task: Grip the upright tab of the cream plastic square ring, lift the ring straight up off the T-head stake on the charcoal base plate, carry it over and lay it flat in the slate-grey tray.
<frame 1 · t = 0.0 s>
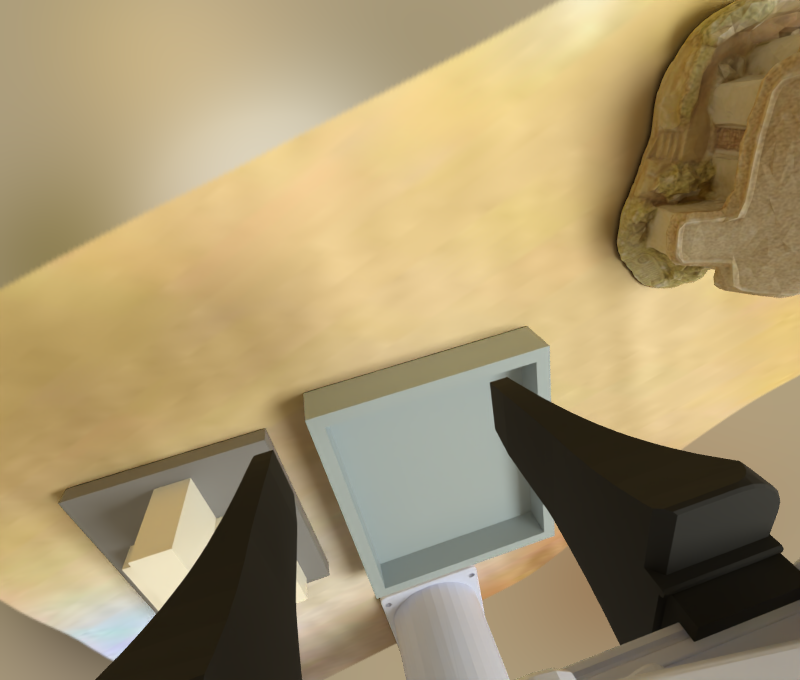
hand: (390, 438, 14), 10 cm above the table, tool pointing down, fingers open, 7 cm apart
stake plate: (215, 530, 27), on the table
tray: (439, 460, 29), on the table
ceramic model: (705, 158, 24), on the table
tabbed ring: (226, 563, 27), point 1 cm above the table, touching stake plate
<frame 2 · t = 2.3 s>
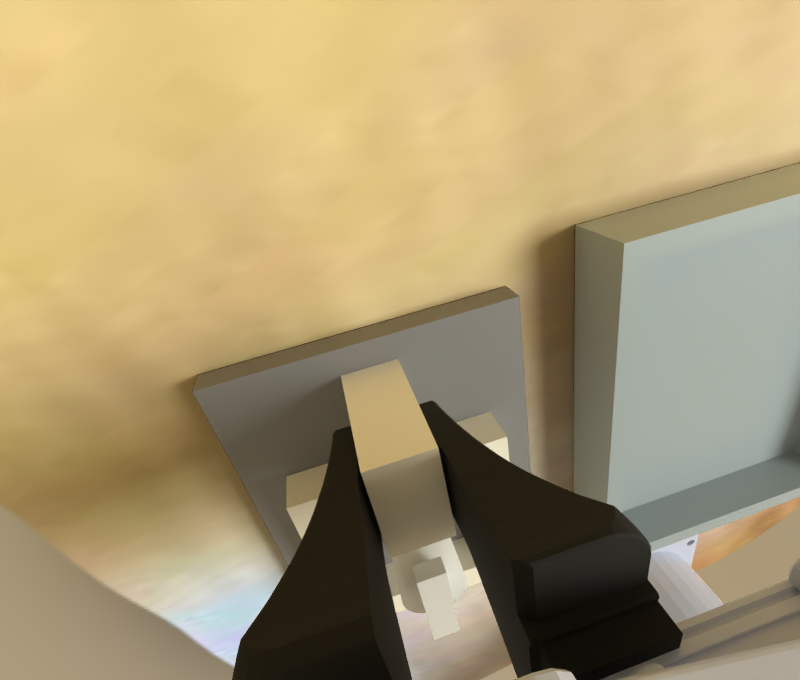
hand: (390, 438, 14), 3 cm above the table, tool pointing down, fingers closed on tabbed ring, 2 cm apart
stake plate: (395, 462, 18), on the table
tray: (709, 364, 20), on the table
tabbed ring: (410, 512, 18), point 1 cm above the table, touching gripper, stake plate
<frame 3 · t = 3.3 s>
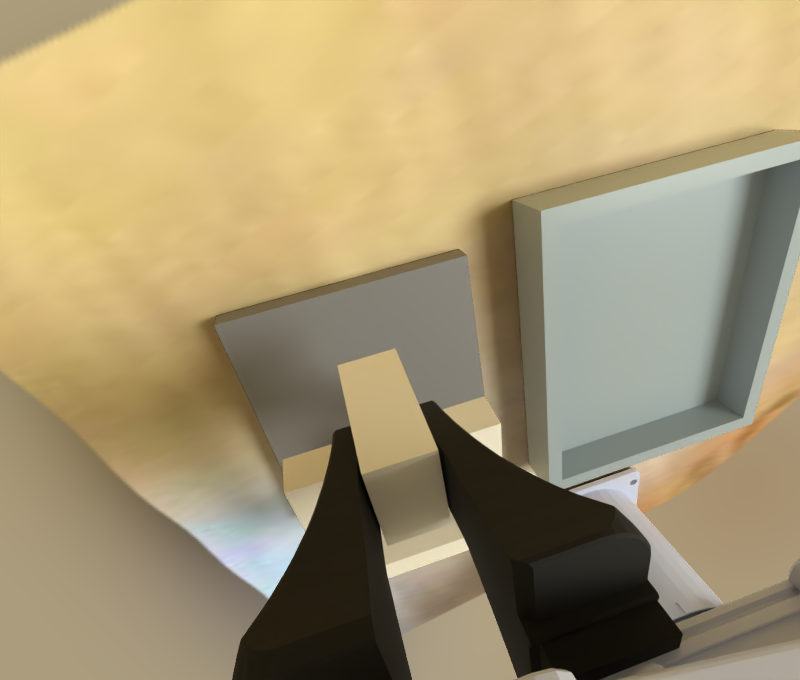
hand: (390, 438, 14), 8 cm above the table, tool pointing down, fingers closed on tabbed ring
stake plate: (374, 396, 22), on the table
tray: (635, 320, 24), on the table
tabbed ring: (403, 488, 19), point 5 cm above the table, tilted 7°, touching gripper
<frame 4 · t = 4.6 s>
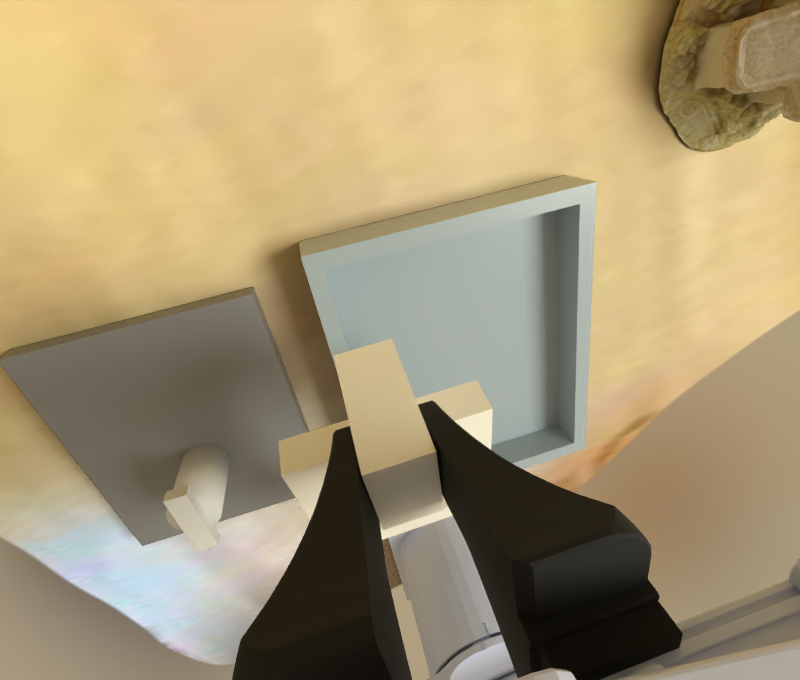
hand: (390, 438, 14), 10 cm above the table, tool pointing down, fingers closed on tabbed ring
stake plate: (194, 422, 23), on the table
tray: (457, 350, 25), on the table
tabbed ring: (394, 461, 19), point 6 cm above the table, tilted 15°, touching gripper
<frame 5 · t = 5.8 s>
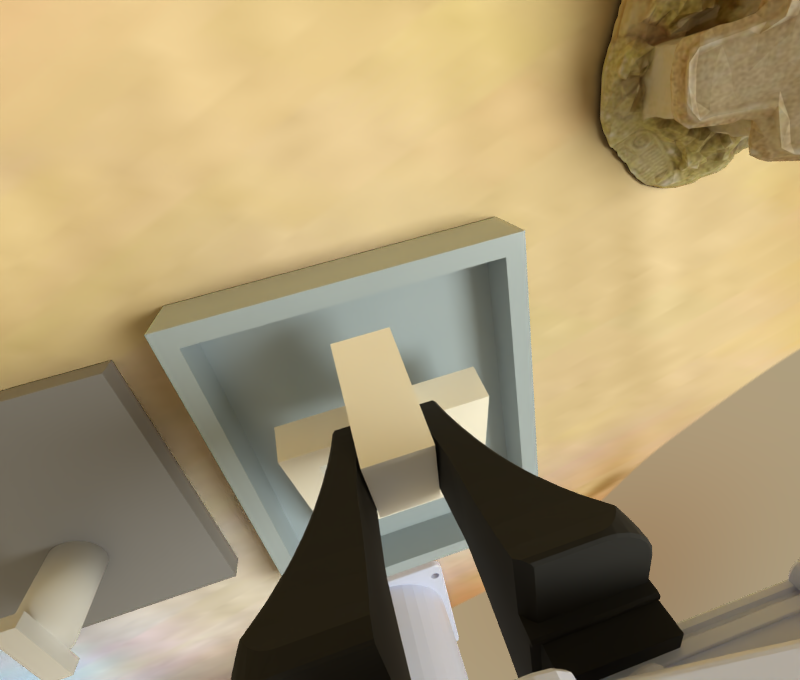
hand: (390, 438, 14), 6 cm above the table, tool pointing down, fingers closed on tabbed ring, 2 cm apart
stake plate: (62, 513, 19), on the table
tray: (381, 418, 21), on the table
tabbed ring: (389, 445, 20), point 2 cm above the table, tilted 19°, touching gripper, tray
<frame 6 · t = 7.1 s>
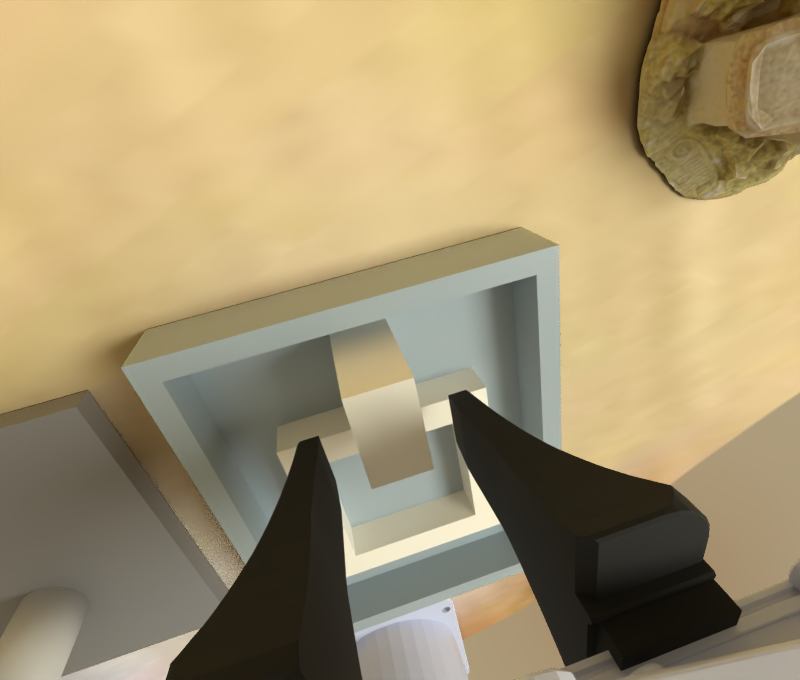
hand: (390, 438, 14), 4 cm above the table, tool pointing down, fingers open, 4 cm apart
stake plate: (37, 555, 17), on the table
tray: (390, 447, 19), on the table
tabbed ring: (396, 466, 19), point 1 cm above the table, touching tray
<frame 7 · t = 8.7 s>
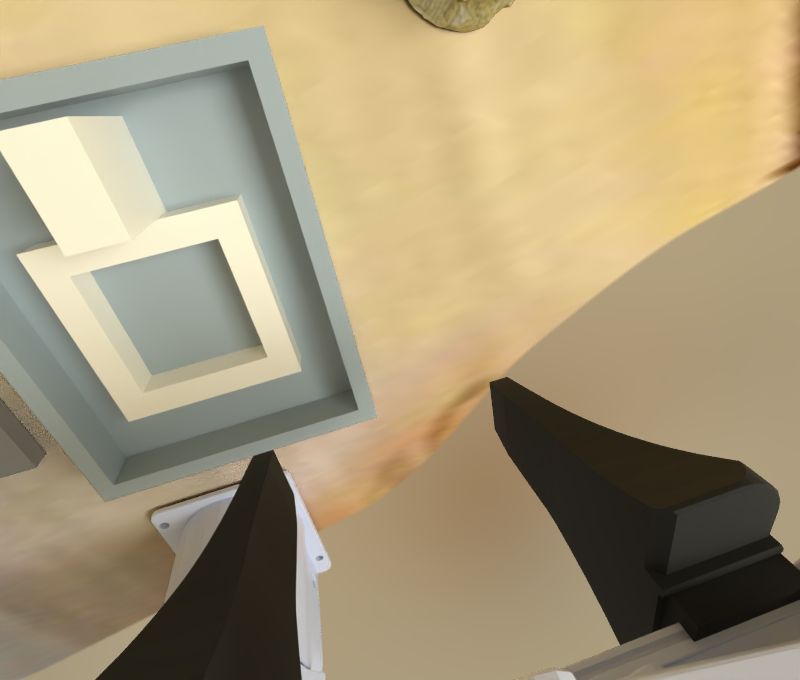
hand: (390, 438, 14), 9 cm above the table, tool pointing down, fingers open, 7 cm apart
tray: (181, 289, 19), on the table
tabbed ring: (185, 306, 19), point 1 cm above the table, touching tray
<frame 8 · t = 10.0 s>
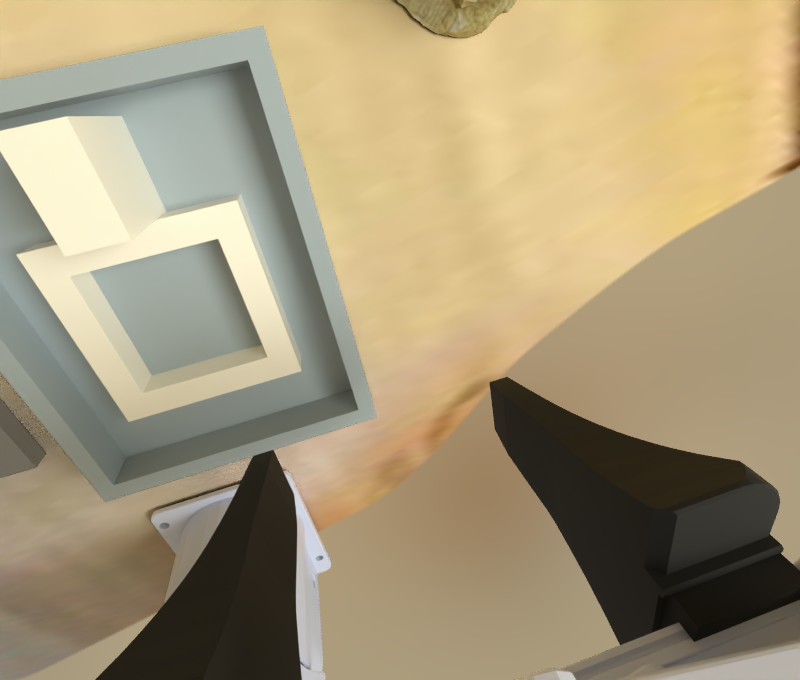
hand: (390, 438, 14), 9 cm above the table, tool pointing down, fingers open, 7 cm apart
tray: (181, 289, 19), on the table
tabbed ring: (185, 306, 19), point 1 cm above the table, touching tray
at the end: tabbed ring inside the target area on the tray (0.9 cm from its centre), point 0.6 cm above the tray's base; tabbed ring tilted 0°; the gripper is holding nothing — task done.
